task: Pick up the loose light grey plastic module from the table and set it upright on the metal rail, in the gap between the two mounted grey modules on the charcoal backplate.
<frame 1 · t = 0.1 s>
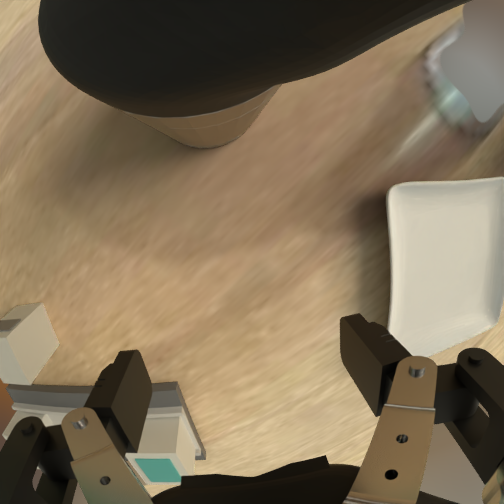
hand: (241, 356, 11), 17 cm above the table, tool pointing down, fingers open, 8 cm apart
loose module: (37, 325, 28), on the table
salad plate: (445, 263, 32), on the table
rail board: (100, 423, 33), on the table
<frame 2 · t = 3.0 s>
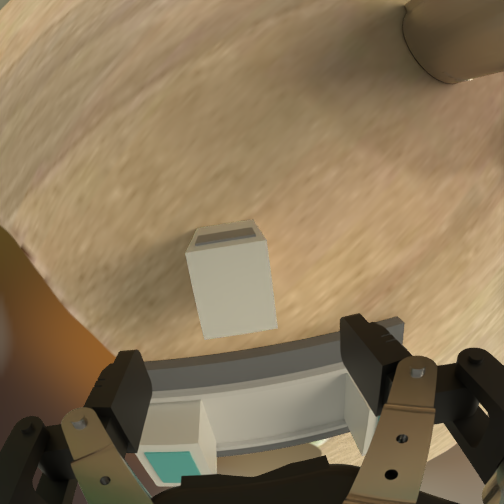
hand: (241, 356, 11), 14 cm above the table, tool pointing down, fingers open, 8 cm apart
loose module: (230, 256, 25), on the table
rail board: (275, 399, 29), on the table
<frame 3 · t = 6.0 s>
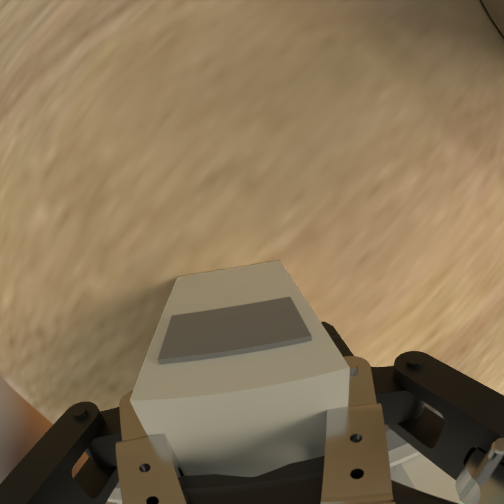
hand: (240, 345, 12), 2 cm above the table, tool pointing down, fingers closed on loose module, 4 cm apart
loose module: (238, 324, 14), on the table, touching gripper
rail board: (298, 489, 18), on the table
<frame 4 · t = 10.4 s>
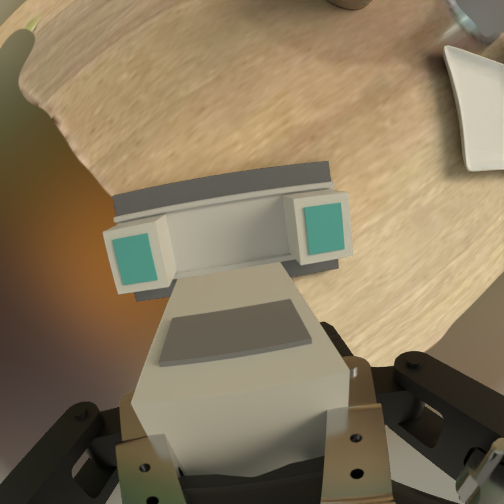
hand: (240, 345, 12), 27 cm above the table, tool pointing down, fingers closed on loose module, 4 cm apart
loose module: (238, 326, 14), point 25 cm above the table, touching gripper
salad plate: (482, 112, 38), on the table
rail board: (227, 230, 38), on the table
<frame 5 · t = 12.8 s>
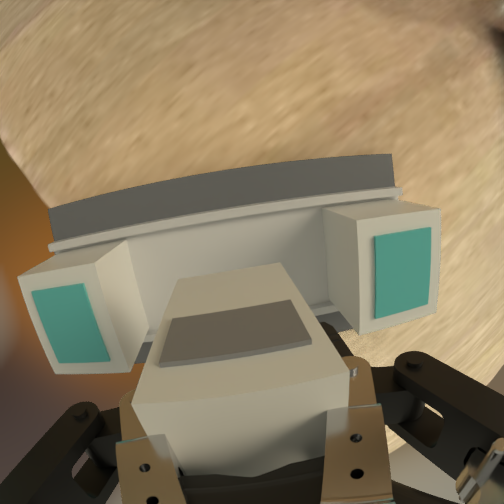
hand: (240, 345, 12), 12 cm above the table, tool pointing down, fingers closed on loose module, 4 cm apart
loose module: (238, 326, 14), point 10 cm above the table, touching gripper
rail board: (230, 263, 24), on the table
when the fingers open (5 cm above the table, at t = 14.9 s): loose module drops 2 cm, resting on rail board.
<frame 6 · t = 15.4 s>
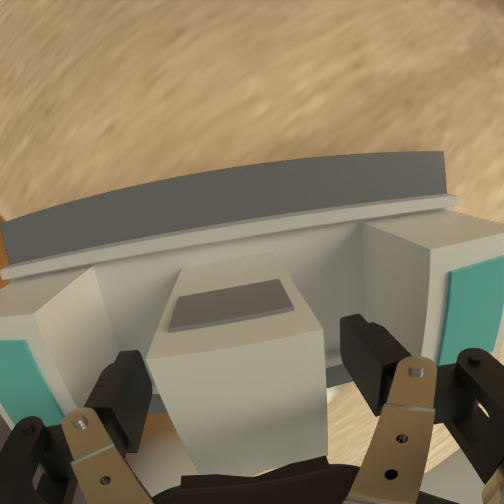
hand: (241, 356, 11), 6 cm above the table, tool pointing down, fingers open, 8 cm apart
loose module: (237, 310, 16), point 2 cm above the table, touching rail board
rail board: (234, 295, 17), on the table
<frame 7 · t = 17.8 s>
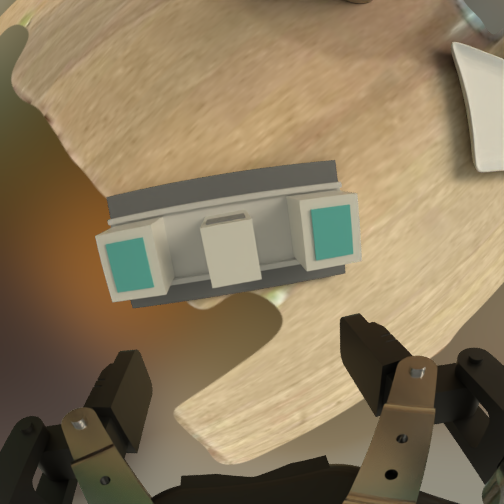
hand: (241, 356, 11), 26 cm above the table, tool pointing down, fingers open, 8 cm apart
loose module: (229, 236, 34), point 2 cm above the table, touching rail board
salad plate: (490, 111, 36), on the table
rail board: (228, 233, 36), on the table
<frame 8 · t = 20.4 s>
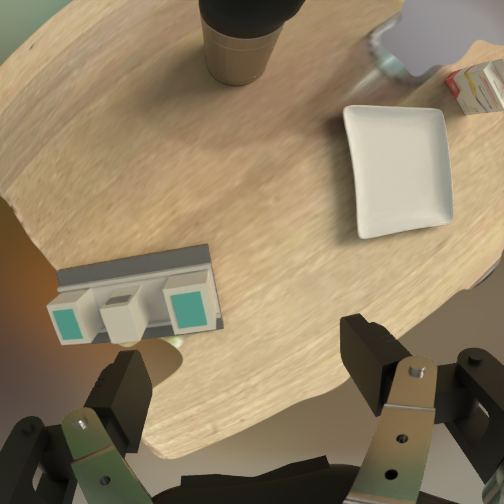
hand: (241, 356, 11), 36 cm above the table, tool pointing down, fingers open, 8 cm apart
loose module: (133, 302, 46), point 2 cm above the table, touching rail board
salad plate: (397, 168, 47), on the table
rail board: (136, 297, 48), on the table
ink cartridge box: (459, 93, 44), on the table
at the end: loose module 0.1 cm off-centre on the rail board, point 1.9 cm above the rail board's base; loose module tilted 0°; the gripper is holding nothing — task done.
